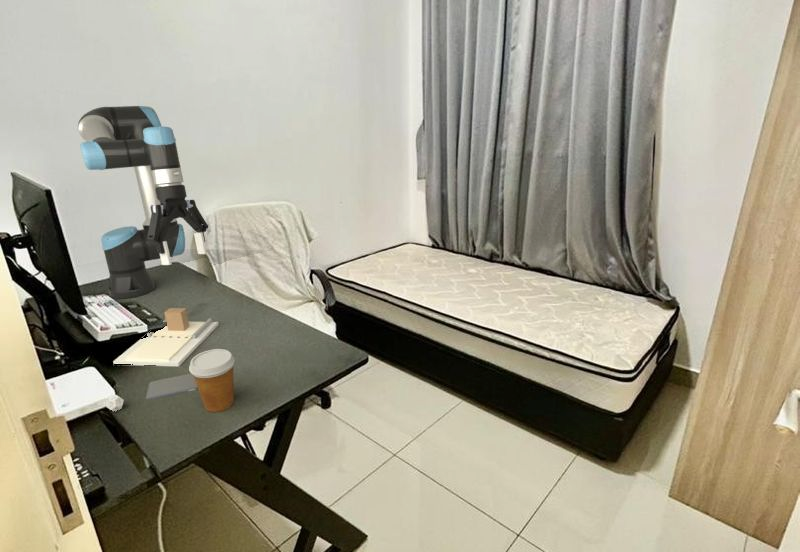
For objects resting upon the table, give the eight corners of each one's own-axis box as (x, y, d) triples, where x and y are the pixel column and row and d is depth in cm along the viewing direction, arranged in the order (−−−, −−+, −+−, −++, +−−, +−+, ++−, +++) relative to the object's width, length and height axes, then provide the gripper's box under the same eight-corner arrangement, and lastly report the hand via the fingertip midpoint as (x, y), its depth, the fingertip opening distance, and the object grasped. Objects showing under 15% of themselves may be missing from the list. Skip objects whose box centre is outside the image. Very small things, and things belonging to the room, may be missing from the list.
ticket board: (163, 323, 145) (162, 317, 144) (218, 324, 143) (217, 318, 142) (113, 364, 122) (111, 357, 121) (178, 366, 121) (177, 358, 120)
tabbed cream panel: (167, 324, 141) (162, 304, 139) (204, 324, 141) (200, 305, 138) (152, 336, 134) (147, 316, 132) (191, 337, 133) (187, 317, 131)
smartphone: (148, 381, 114) (213, 368, 119) (149, 384, 114) (213, 371, 119) (145, 398, 107) (213, 384, 112) (145, 402, 108) (213, 387, 112)
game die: (104, 410, 104) (100, 399, 103) (120, 402, 107) (117, 391, 106) (112, 415, 102) (109, 404, 101) (128, 406, 105) (126, 395, 104)
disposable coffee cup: (249, 402, 106) (241, 357, 102) (209, 422, 99) (200, 375, 95) (228, 386, 112) (220, 343, 108) (189, 405, 105) (180, 359, 101)
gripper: (141, 188, 115) (160, 269, 120) (211, 180, 138) (225, 249, 143) (120, 190, 118) (139, 269, 123) (192, 182, 140) (206, 250, 145)
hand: (185, 259), depth 133 cm, fingers open, 13 cm apart
